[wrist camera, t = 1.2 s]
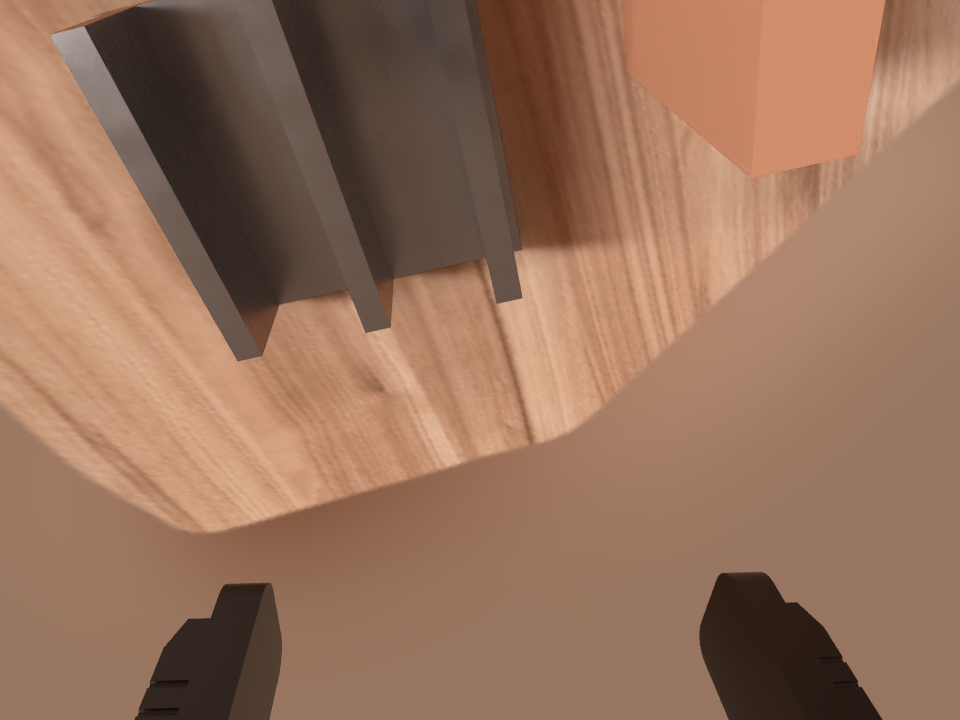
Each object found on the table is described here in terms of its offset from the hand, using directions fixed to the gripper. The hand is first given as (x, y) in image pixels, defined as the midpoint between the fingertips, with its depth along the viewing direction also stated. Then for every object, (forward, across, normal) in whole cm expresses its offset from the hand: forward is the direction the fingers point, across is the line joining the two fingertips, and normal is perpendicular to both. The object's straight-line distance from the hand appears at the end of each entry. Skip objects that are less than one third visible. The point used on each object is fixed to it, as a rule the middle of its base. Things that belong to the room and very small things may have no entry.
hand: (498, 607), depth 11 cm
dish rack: (+23, +5, -4) cm, 24 cm away
